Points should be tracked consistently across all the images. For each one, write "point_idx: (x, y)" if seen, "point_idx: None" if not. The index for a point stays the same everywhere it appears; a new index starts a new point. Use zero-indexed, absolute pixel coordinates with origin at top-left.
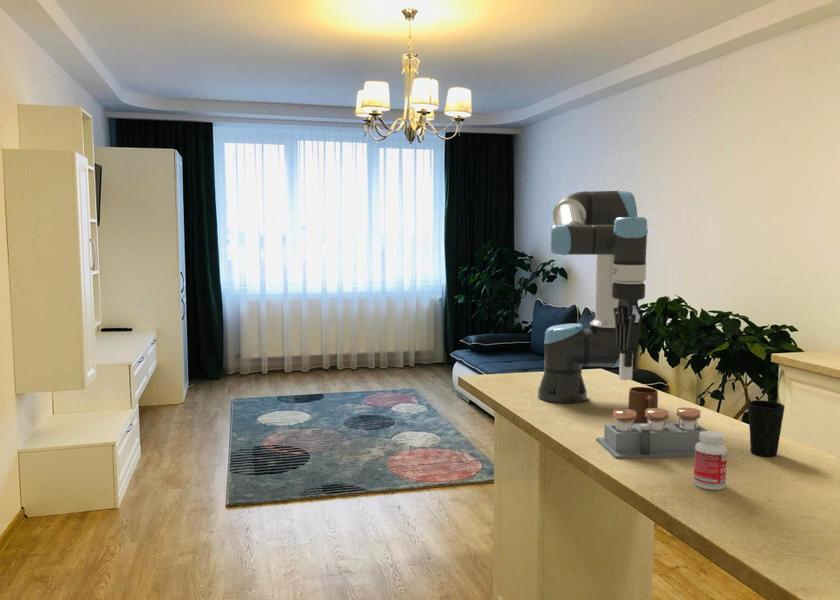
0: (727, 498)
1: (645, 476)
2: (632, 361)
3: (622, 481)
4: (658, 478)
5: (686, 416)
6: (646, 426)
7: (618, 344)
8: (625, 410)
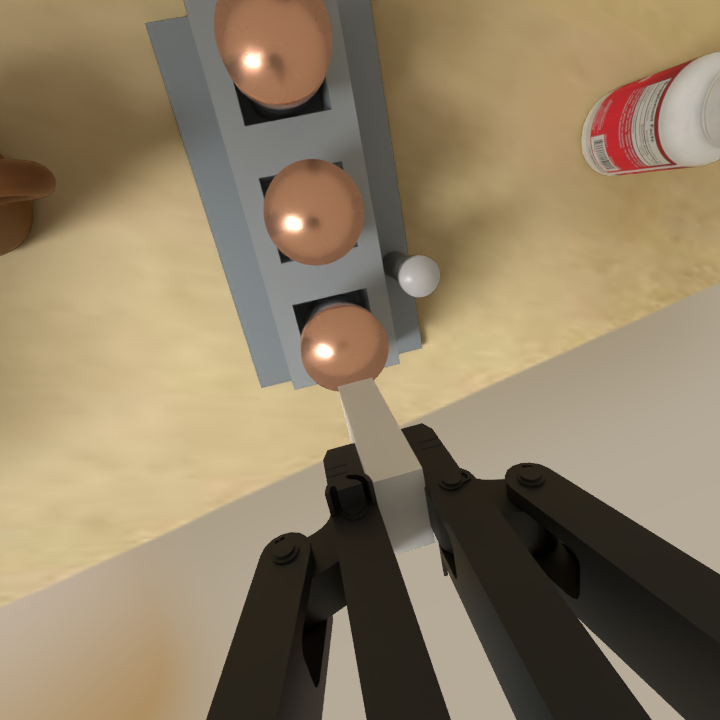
0: None
1: (545, 289)
2: (401, 432)
3: (572, 345)
4: (559, 259)
5: (326, 72)
6: (433, 277)
7: (332, 620)
8: (328, 346)
